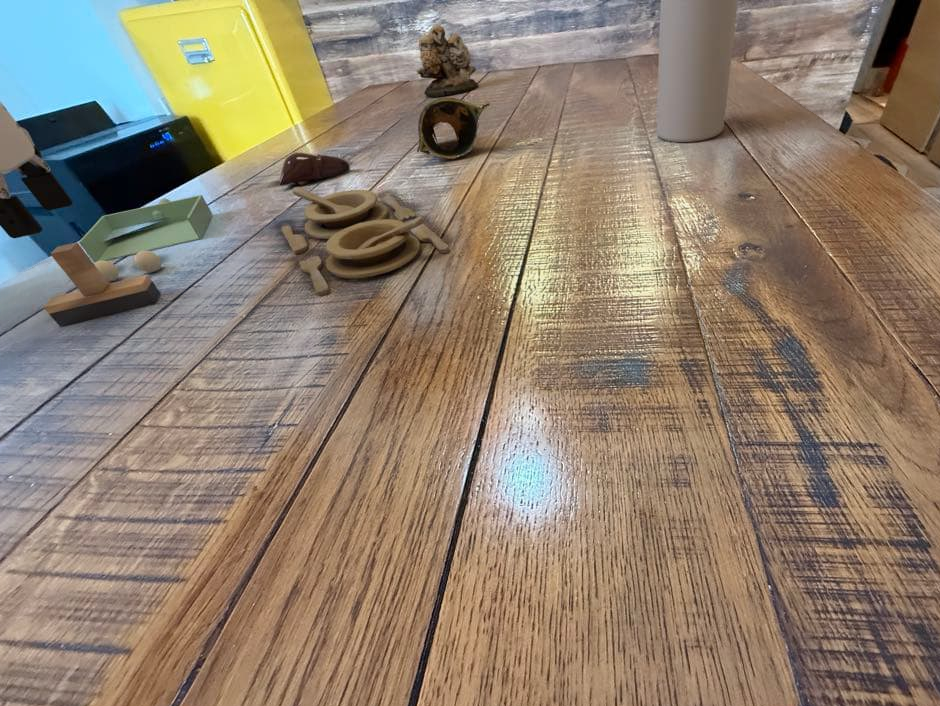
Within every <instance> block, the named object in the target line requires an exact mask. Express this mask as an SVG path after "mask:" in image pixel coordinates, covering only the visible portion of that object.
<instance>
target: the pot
mask: <svg viewBox="0 0 940 706" xmlns="http://www.w3.org/2000/svg"><path fill="white" fill-rule="evenodd" d="M490 105H491V102H490V101H486V102H484V103H482V104H476V103H472V102H468V101H464V100H461V99H459V98H456V97H450V96H441V97H437V98H435V99H433V100H431V101H429V102H428V103H427V104H425V106H424V108H423V109H422V111H421V112H420V115H419V119H418V125H417V131H418V146H417V149H416V153H417V154H418V153H422V154H426V155H429V156H430V155H431V154H433V155H435V156H436V157H439V158H443V159H447V160H452V159H456V158H459V157H461V156H465V155H466V154H467V153H469V152H471V150H472V149H473V147H474V146H475V144H476V139H478V132H479V128H480V120H481V115H483V113H484V112H485V110H486V108H488V107H490ZM440 123H442V124H443V123H444V124H448V125H449V126H451V128H452V129H453V131H454V134H455V137H456V140H457V145H456V146H454V147H453V148H452V149H448V148H445V147H443V146H440V145H439V143H438V139H437V136H436V133H435V128H434V127H435V126H436V125H437V124H440Z"/></svg>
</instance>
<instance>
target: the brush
mask: <svg viewBox="0 0 940 706" xmlns="http://www.w3.org/2000/svg"><path fill="white" fill-rule="evenodd" d="M50 256H51V257H52V258H53V260H54V261H55V262H56V263H57V265H58V266H59V267H60V268H61V270H62V271H63V272H64V273H65V275H66V276H67V277H68V279H70V281H71V282H72V284H73V285H74V286H75V287H76V288H77V290H76V291H72V292H66V293H62V294H59V295H54V296H51V297H50V299H49V300H48V301H47V302H46V304H44V306H43V309H44V310H45V311H46V313H47V314H48V315H49V316H50V317H51V318H52V319H53V320H54V322H55V323H56V324H57V325H58V326H59V327H65V326H69V325H73V324H78V323H82V322H85V321H89V320H94V319H97V318H101V317H105V316H111V315H113V314H119V313H121V312H125V311H126V312H127V311H130V310H134V309H138V308H143V307H146V306H151V305H155V304H157V302H158V300H159V298H160V296H161V291H160V290H159V289H158V287H157V286H156V284H155V283H154V282H153V280H152V279H151V277H150V275H149V274H145V275H140V276H135V277H130V278H127V279H126V278H125V279H122V280H118V281H113V282H107V281H106V279H105V278H104V277H103V275H102V274H101V273H100V272H99V270H98V269H97V268H96V266H95V265H94V262H93V260H92V259H91V258H90V256H89V255H88V254H87V252H86V251H85V250H84V248H83V247H82V246H81V244H80V243H79V241H78V242H77V241H76V242H72V243H68V244H63V245H59V246H56V247H55V248H54V249H53V250H52V251H51V252H50Z"/></svg>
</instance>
